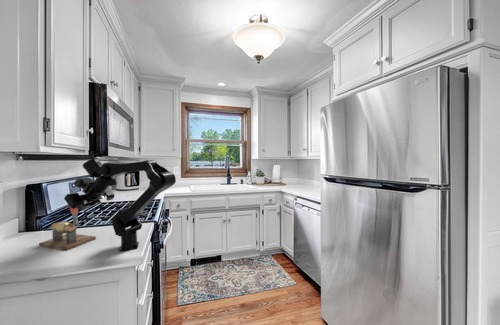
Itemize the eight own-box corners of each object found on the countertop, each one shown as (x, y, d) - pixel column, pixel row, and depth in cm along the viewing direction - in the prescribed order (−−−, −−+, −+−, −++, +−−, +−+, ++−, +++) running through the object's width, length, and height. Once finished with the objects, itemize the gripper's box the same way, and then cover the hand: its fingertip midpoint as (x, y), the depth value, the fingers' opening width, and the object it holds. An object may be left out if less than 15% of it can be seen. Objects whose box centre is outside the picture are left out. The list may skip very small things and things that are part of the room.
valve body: (83, 238, 99) (82, 220, 98) (67, 244, 93) (66, 224, 92) (65, 236, 102) (64, 218, 101) (48, 242, 96) (47, 222, 95)
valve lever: (79, 225, 101) (76, 201, 101) (76, 226, 100) (72, 201, 100) (76, 225, 102) (73, 201, 102) (72, 227, 101) (69, 202, 100)
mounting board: (95, 239, 101) (95, 236, 101) (67, 250, 90) (67, 247, 90) (69, 235, 106) (69, 233, 106) (39, 246, 95) (39, 243, 94)
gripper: (108, 169, 106) (91, 192, 110) (66, 173, 88) (47, 200, 92) (122, 187, 104) (105, 209, 108) (82, 194, 86) (62, 221, 90)
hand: (81, 209), depth 99 cm, fingers closed
